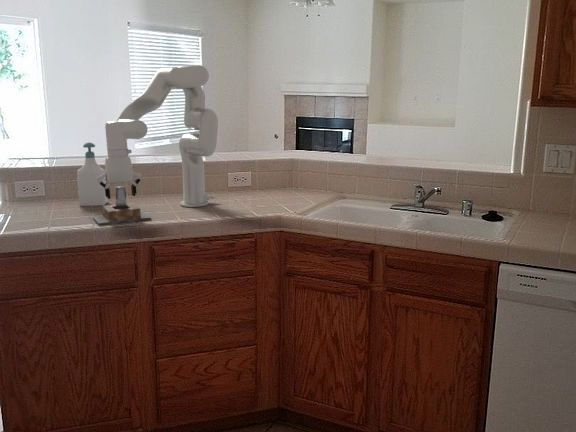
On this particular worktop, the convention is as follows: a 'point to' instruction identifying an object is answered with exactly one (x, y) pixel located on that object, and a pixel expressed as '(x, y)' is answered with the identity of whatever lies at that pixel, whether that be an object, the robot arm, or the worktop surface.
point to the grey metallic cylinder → (120, 197)
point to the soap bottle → (90, 181)
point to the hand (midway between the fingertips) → (121, 196)
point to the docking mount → (120, 215)
